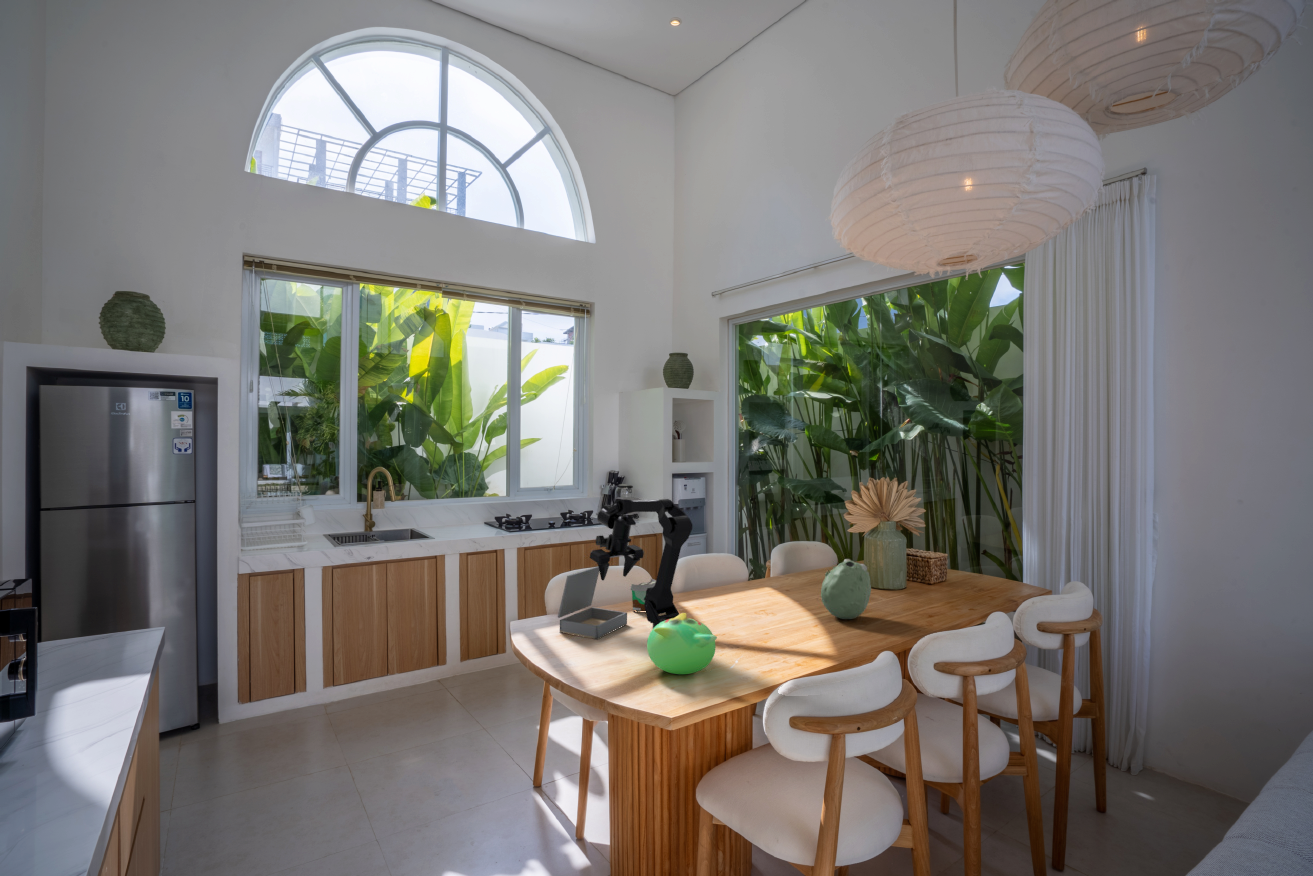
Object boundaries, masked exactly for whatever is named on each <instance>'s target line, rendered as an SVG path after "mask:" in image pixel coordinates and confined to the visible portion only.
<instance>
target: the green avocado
mask: <svg viewBox="0 0 1313 876" xmlns="http://www.w3.org/2000/svg"><path fill="white" fill-rule="evenodd" d="M871 593H872V586H871V577H870V572H869V571H868V566H867V565H866V564H864V563H860V562H855V561H854V560H852V559H850V558H845V559H844V560H843V561H841V562H840V563H839V564H838V565H836V566H833V568H832V569H831V570H829V569H827V571H826V572H825V574H824V579H823V581H822V583H821V591H820V599H821V603H822V604H823V606H824V607H825V609H826V610H827V611H828V612H829V614H831V615H832V616H833V617H835V618H838V619H841V620H852V619H855V618H857V617H859V616H861V615H862V614H863V613H864V611H866V609H867V607H868V605H869V602H870V597H871Z"/></svg>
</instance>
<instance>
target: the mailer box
mask: <svg viewBox="0 0 1313 876" xmlns="http://www.w3.org/2000/svg"><path fill="white" fill-rule="evenodd" d="M625 624H627V625H628V612H624V611H620V610H611V609H606V608H600V607H594V606H593V607H589V608H585V609H584V610H582V611H579V612H577V613H576V612H575V613H574V614H572V615H569V616H566V617H564V618H562V619H559V633H560V632H563V633H562V634H564V633H568V634H567V635H570V634H574V635H573V636H575V635H579V636H578V637H580V636H584V637H583V638H586V637H587V638H586V639H591V638H592V640H599V639H601V638H603V637H604V636H603V635H605V634H607V633H609V632H611V631H613V630H615V629H617V628H619V627H621V626H623V625H625ZM621 628H622V627H621ZM619 629H620V628H619ZM617 630H618V629H617ZM615 631H616V630H615ZM613 632H614V631H613ZM611 633H612V632H611ZM609 634H610V633H609ZM607 635H608V634H607ZM602 636H603V637H602ZM605 636H606V635H605ZM600 637H601V638H600Z"/></svg>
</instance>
